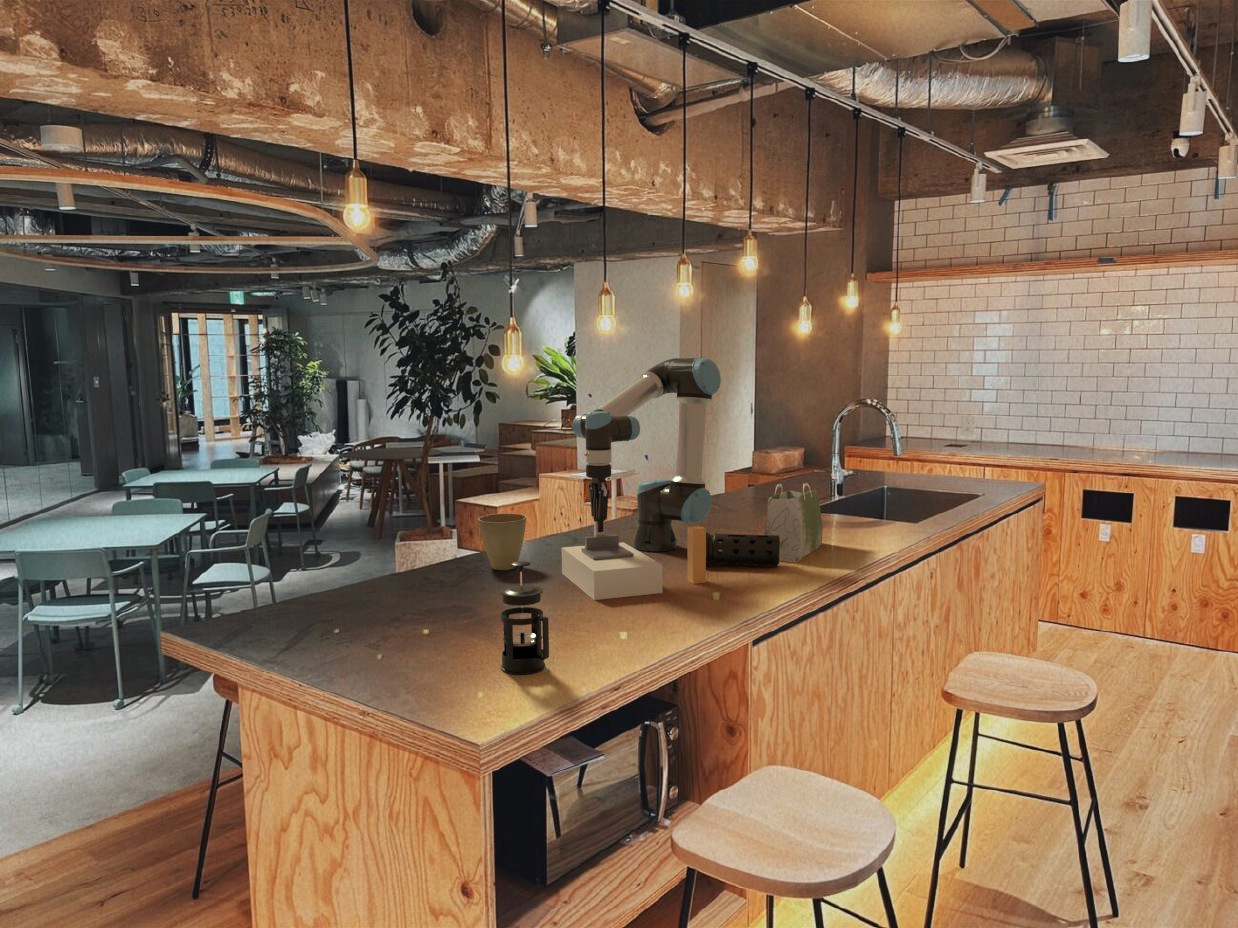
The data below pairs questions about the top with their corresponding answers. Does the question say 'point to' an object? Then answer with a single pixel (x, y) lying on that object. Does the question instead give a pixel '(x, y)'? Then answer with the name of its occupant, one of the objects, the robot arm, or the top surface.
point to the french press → (522, 647)
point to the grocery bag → (795, 522)
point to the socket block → (612, 573)
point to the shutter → (605, 547)
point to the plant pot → (502, 538)
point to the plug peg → (697, 554)
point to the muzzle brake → (743, 549)
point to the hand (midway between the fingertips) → (599, 541)
